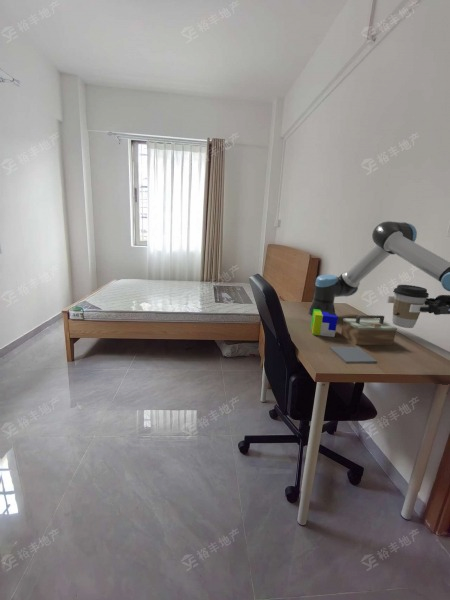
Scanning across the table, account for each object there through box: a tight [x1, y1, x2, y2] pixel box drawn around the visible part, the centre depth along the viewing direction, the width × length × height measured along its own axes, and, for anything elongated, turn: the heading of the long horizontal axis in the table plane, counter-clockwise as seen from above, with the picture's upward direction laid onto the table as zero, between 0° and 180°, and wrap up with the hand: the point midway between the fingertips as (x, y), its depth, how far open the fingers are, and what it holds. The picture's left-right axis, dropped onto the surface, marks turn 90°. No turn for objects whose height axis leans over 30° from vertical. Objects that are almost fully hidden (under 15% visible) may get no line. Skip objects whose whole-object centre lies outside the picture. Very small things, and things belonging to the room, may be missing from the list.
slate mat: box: [329, 346, 378, 364], centre depth 112 cm, size 13×13×1 cm
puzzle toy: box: [310, 309, 339, 338], centre depth 135 cm, size 10×10×10 cm
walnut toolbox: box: [340, 314, 398, 346], centre depth 129 cm, size 13×19×12 cm
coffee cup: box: [391, 284, 430, 329], centre depth 105 cm, size 11×11×15 cm
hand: (398, 303), depth 104 cm, fingers closed on coffee cup, 11 cm apart
